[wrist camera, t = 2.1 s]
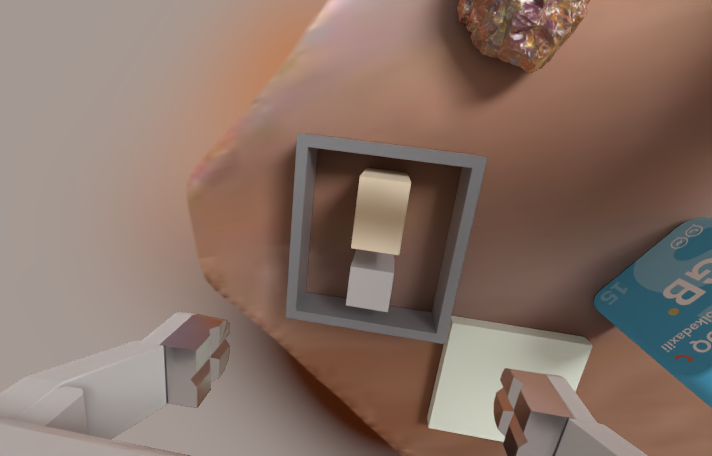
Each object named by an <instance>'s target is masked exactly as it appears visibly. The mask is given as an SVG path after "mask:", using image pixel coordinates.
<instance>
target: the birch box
mask: <svg viewBox="0 0 712 456" xmlns="http://www.w3.org/2000/svg"><path fill="white" fill-rule="evenodd" d="M410 187H411V181H410V179H409V176H408V173H405V172H397V171H390V170H382V169H374V168H366V169H365V170H364V171H363V173H362V174H361V175H360V178H359V186H358V195H357V203H356V211H355V219H354V228H353V236H352V244H351V248H353V249H360V250H366V251H373V252H380V253H386V254H393V255H399V253H400V247H401V241H402V235H403V229H404V223H405V217H406V211H407V205H408V199H409V193H410Z"/></svg>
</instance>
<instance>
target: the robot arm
mask: <svg viewBox="0 0 712 456" xmlns="http://www.w3.org/2000/svg"><path fill="white" fill-rule="evenodd" d="M229 333H230V323H229V322H228V320H224V319H219V318H214V317H208V316H204V315H199V314H193V313H187V312H177V313H175V314H174V315H173V316H171V317H170V318H169V319H168V320H166V321H165V322H164V323H163V324H161V325H160V326H159V327H158V328H157V329H155V330H154V331H153V332H152V333H150V334H149V335H148V336H147V337H145V338H144V339H143V340H141V341H132V342H129V343H126V344H123V345H120V346H117V347H114V348H111V349H108V350H105V351H102V352H99V353H96V354H93V355H90V356H87V357H83V358H80V359H77V360H74V361H71V362H68V363H65V364H62V365H59V366H56V367H53V368H50V369H47V370H44V371H41V372H38V373H35V374H32V375H28V376H26V377H24V378H23V379H21V380H20V381H18V382H16V383H15V384H13V385H12V386H10V387H9V388H7V389H6V390H4V391H3V392H1V393H0V456H189V455H185V454H180V453H174V452H170V451H165V450H160V449H155V448H150V447H145V446H140V445H135V444H130V443H126V442H121V441H115V440H111V439H112V438H114V437H115V436H117V435H119V434H120V433H122V432H124V431H125V430H127V429H128V428H130V427H132V426H133V425H135V424H137V423H138V422H140V421H142V420H143V419H145V418H146V417H148V416H149V415H151V414H153V413H155V412H156V411H158V410H159V409H161V408H163V407H164V406H166V405H167V403H168V404H175V405H181V406H187V407H193V408H198V406H199V405H200V404H201V402H202V401H203V400H204V398H205V397H206V395H207V394H208V393H209V391H210V390H211V382H212V381H214V380H216V379H218V378H219V377H220V376H221V374H222V373H223V371H224V370H225V367H226V365H227V362H228V358H229V352H230V345H229V344H228V342H227V341H226V339H225V338H226V337H227V336H228V335H229ZM500 381H501V383H502V385H503V388H502V389H500V390H499V391H498V392H496V396H495V400H494V419H495V423H496V426H497V429H498V430H499V431H500V432H501V433H502V434H503V435H504V436H505V440H504V443H503V446H504V448H505V451H506V454H507V456H647V455H646V454H645V453H643V452H642V451H640V450H639V449H638V448H636V447H635V446H633V445H632V444H630V443H629V442H628V441H626V440H625V439H623V438H622V437H621V436H619V435H618V434H616V433H615V432H614V431H612V430H611V429H609V428H608V427H607V426H605V425H603V424H598V423H597V422H596V421H595V419H594V418H593V417H592V415H591V414H590V412H589V411H588V410H587V408H586V407H585V405H584V404H583V403H582V401H581V400H580V398H579V397H578V396H577V394H576V393H575V391H574V390H573V389H572V387H571V386H570V384H569V383H568V382H567V380H566V379H565V378H563V377H562V376H558V375H551V374H544V373H542V374H541V373H534V372H528V371H522V370H515V369H509V368H505V369H504V371H503V372H502V375H501V378H500Z"/></svg>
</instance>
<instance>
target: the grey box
mask: <svg viewBox="0 0 712 456" xmlns="http://www.w3.org/2000/svg"><path fill="white" fill-rule="evenodd" d="M393 278H394V255H393V254H386V253H380V252H373V251H366V250H360V249H356V251H355V255H354V258H353V261H352V264H351V267H350V275H349V283H348V292H347V300H346V305H347V306H353V307H359V308H365V309H371V310H377V311H383V312H388V308H389V302H390V296H391V290H392V284H393Z"/></svg>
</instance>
